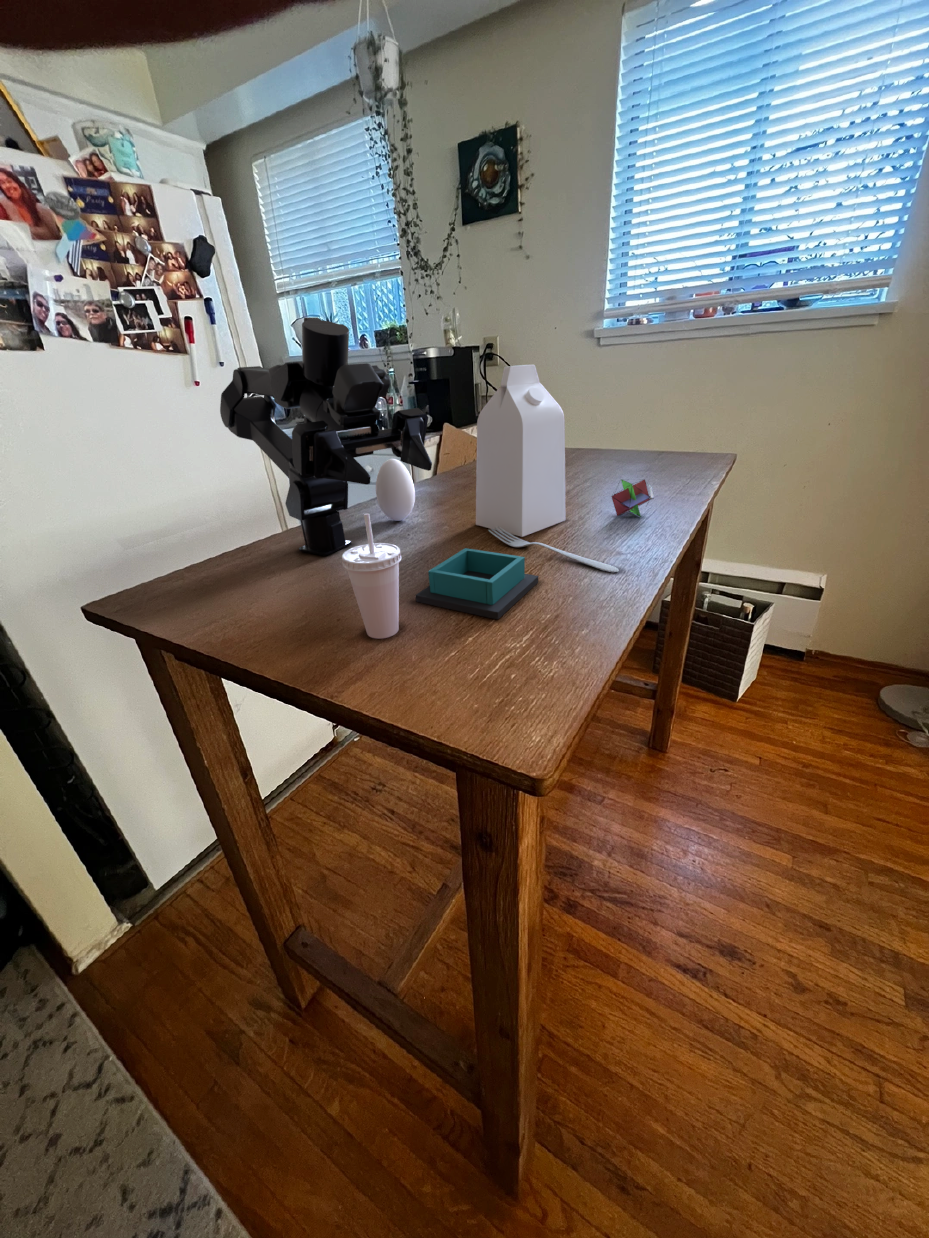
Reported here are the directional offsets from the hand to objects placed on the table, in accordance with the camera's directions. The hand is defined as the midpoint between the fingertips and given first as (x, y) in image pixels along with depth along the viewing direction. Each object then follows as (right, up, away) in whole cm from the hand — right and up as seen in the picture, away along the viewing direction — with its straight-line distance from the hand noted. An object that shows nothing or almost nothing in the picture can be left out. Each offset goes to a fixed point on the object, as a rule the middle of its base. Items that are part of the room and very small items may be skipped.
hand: (401, 473), depth 61 cm
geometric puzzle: (+38, +1, +32) cm, 50 cm away
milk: (+18, 0, +31) cm, 36 cm away
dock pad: (+10, -14, +5) cm, 18 cm away
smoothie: (-2, -19, -3) cm, 20 cm away
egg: (-5, +1, +37) cm, 38 cm away
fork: (+21, -8, +17) cm, 28 cm away
